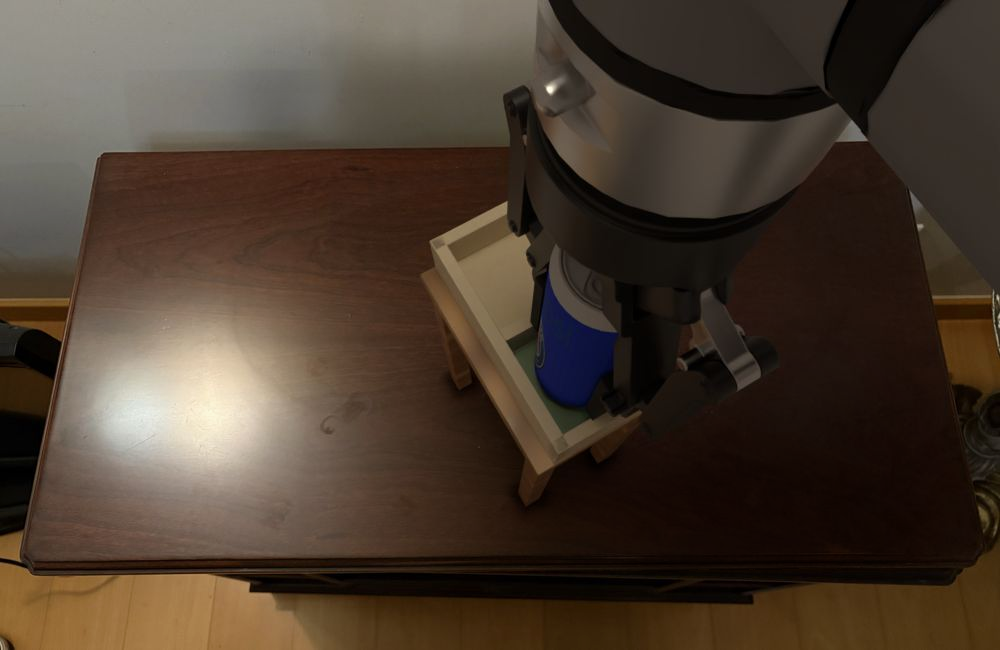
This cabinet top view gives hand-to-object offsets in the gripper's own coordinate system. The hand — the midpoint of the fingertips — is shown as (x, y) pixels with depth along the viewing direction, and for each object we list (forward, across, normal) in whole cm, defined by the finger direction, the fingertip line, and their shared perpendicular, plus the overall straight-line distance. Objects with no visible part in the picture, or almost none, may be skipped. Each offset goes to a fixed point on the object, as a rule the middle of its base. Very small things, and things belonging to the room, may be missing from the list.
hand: (580, 358), depth 40 cm
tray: (+4, -4, 0) cm, 6 cm away
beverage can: (+2, 0, 0) cm, 2 cm away
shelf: (+30, -4, 0) cm, 30 cm away
